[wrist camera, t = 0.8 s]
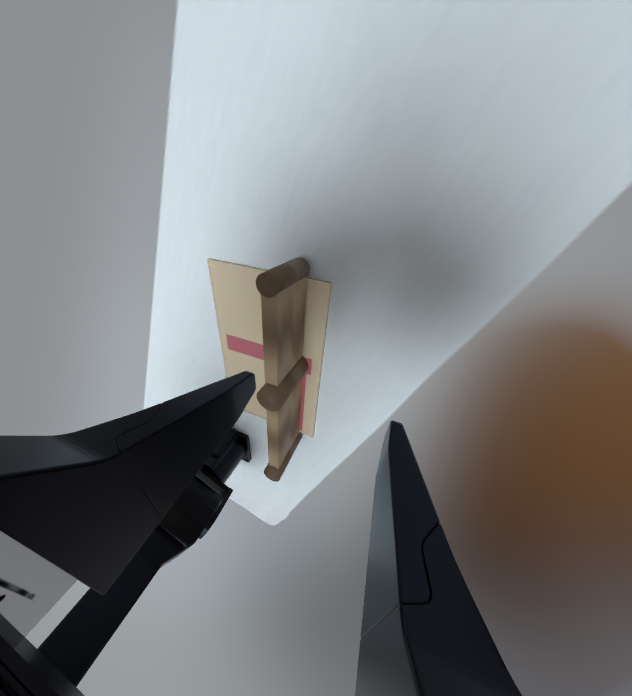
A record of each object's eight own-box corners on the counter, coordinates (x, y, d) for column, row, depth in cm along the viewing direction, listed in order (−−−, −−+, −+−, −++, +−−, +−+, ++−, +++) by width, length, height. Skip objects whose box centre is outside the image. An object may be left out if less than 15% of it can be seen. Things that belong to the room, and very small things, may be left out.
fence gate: (304, 356, 24) (278, 388, 20) (289, 351, 24) (261, 382, 20) (310, 259, 19) (277, 275, 14) (291, 255, 19) (254, 270, 15)
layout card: (313, 435, 31) (312, 437, 30) (232, 404, 34) (230, 405, 34) (331, 283, 20) (330, 284, 19) (209, 258, 23) (206, 259, 23)
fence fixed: (302, 442, 32) (281, 484, 27) (286, 435, 32) (262, 476, 28) (309, 357, 24) (281, 395, 19) (288, 350, 25) (255, 386, 20)
